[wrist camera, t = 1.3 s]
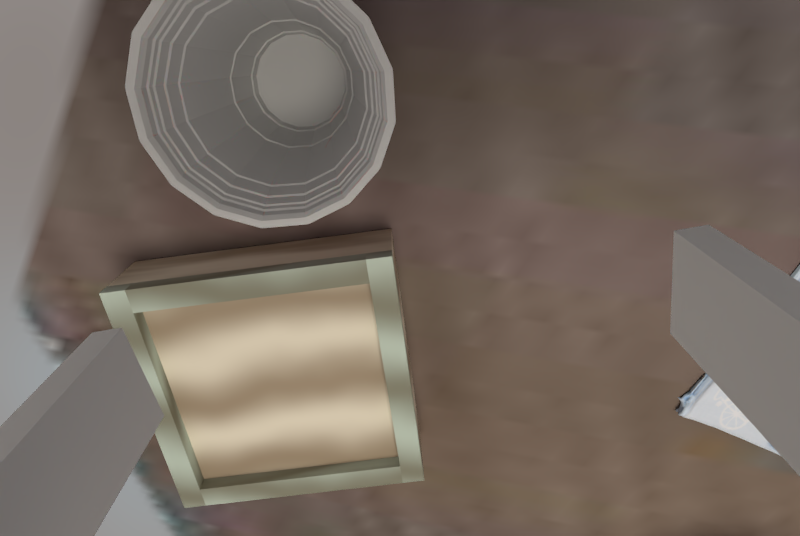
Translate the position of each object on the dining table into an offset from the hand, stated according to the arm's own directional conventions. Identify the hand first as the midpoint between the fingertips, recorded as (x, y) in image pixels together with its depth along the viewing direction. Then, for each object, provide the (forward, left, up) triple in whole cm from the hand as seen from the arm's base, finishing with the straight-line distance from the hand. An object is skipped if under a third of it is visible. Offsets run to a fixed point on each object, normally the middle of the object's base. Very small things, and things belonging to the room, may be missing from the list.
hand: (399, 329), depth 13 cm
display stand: (+14, -10, -23) cm, 29 cm away
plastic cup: (-5, -5, -23) cm, 24 cm away
